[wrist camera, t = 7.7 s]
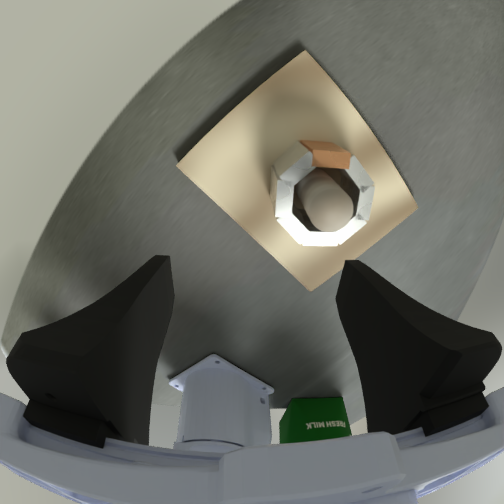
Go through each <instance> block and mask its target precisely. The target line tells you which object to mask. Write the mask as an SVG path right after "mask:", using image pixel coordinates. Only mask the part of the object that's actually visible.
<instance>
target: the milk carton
mask: <svg viewBox="0 0 504 504" xmlns="http://www.w3.org/2000/svg"><path fill="white" fill-rule="evenodd" d="M279 426H280V427H279V429H280V444H286V443H299V442H310V441H319V440H327V439H335V438H342V437H348V436H352V434H351V429H350V425H349V421H348V417H347V413H346V409H345V405H344V401H343V397H335V398H292V400H291V402H290V404H289V406H288V407H287V409H286V411H285V413H284V415H283V417H282V419H281V420H280V422H279Z"/></svg>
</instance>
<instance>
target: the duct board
mask: <svg viewBox="0 0 504 504" xmlns="http://www.w3.org/2000/svg"><path fill="white" fill-rule="evenodd" d="M300 140H310V141H322V142H332V143H334V144H336V145H338V146H339V147H341V148H343V149H345V150H346V151H348V152H350V153H352V154H353V155H354V156H355V157H356V158H357V160H358V161H359V162H360V164H361V165H362V166H363V168H364V169H365V171H366V172H367V173H368V175H369V176H370V178H371V179H372V181H373V182H374V184H373V185H374V186H375V190H374V196H373V202H372V207H371V212H370V217H369V220H365V221H366V222H367V224H366V225H364V226H363V227H362V228H361V229H359V230H358V231H357V232H356V233H354V234H353V235H352V236H351V237H349V238H348V239H347V240H346V241H344V242H343V243H342V244H341V245H340V244H339V243H337V246H303V244H302V243H301V244H299V243H298V242H297V241H296V240H295V239H294V238H293V237H292V236H291V235H290V234H289V233H288V232H287V231H286V230H285V229H284V228H283V227H282V226H281V225H280V223H279V222H278V221H277V220H276V217H275V215H274V211H273V207H272V203H271V199H270V179H271V165H274V164H273V161H275V160H276V159H277V158H278V157H279V156H280V155H281V154H283V153H284V152H285V151H286V150H287V149H288V148H290V147H291V146H292V145H293V144H294V143H295V142H297V141H298V142H299V143H300ZM176 166H177V167H178V168H179V169H180V170H181V171H182V172H183V173H184V174H185V175H186V176H187V177H189V178H190V179H191V180H192V181H193V182H194V183H195V184H196V185H197V186H198V187H199V188H200V189H202V190H203V191H204V192H205V193H206V194H207V195H208V196H209V197H210V198H211V199H212V200H213V201H214V202H216V203H217V204H218V205H219V206H220V207H221V208H222V209H223V210H224V211H225V212H226V213H227V214H228V215H229V216H231V217H232V218H233V219H234V220H235V221H236V222H237V223H238V224H239V225H240V226H241V227H242V228H243V229H244V230H245V231H247V232H248V233H249V234H250V235H251V236H252V237H253V238H254V239H255V240H256V241H257V242H258V243H259V244H260V245H261V246H262V247H264V248H265V249H266V250H267V251H268V252H269V253H270V254H271V255H272V256H273V257H274V258H275V259H276V260H277V261H278V262H279V263H280V264H281V265H283V266H284V267H285V268H286V269H287V270H288V271H289V272H290V273H291V274H292V275H293V276H294V277H295V278H296V279H297V280H298V281H299V282H300V283H301V284H303V285H304V286H305V287H306V288H307V289H308V290H309V291H310V292H311V291H313V290H314V289H315V288H317V287H318V286H320V285H321V284H322V283H324V282H325V281H326V280H328V279H329V278H330V277H332V276H333V275H335V274H336V273H337V272H339V271H340V270H341V269H343V267H344V263H345V260H354V259H356V258H357V257H358V256H360V255H361V254H362V253H363V252H365V251H366V250H367V249H368V248H370V247H371V246H372V245H374V244H375V243H376V242H377V241H379V240H380V239H381V238H382V237H384V236H385V235H386V234H387V233H389V232H390V231H391V230H392V229H393V228H395V227H396V226H397V225H398V224H400V223H401V222H402V221H403V220H404V219H406V218H407V217H408V216H409V215H410V214H411V213H413V212H414V211H415V210H416V209H417V208H418V206H417V204H416V202H415V200H414V198H413V197H412V195H411V193H410V191H409V190H408V188H407V186H406V184H405V183H404V181H403V179H402V177H401V176H400V174H399V172H398V171H397V169H396V168H395V166H394V164H393V163H392V161H391V160H390V158H389V156H388V155H387V153H386V152H385V150H384V149H383V147H382V146H381V144H380V143H379V141H378V140H377V138H376V137H375V135H374V134H373V132H372V131H371V130H370V128H369V127H368V125H367V124H366V123H365V121H364V120H363V119H362V117H361V116H360V114H359V113H358V112H357V110H356V109H355V108H354V107H353V105H352V104H351V103H350V101H349V100H348V99H347V98H346V96H345V95H344V94H343V93H342V91H341V90H340V89H339V88H338V86H337V85H336V84H335V83H334V82H333V80H332V79H331V78H330V77H329V76H328V75H327V73H326V72H325V71H324V70H323V69H322V68H321V67H320V65H319V64H318V63H317V62H316V61H315V60H314V59H313V58H312V57H311V56H310V54H309V53H308V52H307V51H306V50H304V51H303V52H302V53H300V54H299V55H298V56H296V57H295V58H294V59H292V60H291V61H290V62H289V63H287V64H286V65H285V66H283V67H282V68H281V69H280V70H278V71H277V72H276V73H275V74H273V75H272V76H271V77H270V78H269V79H267V80H266V81H265V82H264V83H263V84H261V85H260V86H259V87H258V88H257V89H255V90H254V91H253V92H252V93H251V94H250V95H249V96H247V97H246V98H245V99H244V100H243V101H242V102H241V103H239V104H238V105H237V106H236V107H235V108H234V109H233V110H232V111H231V112H230V113H228V114H227V115H226V116H225V117H224V118H223V119H222V120H221V121H220V122H219V123H218V124H217V125H216V126H215V127H214V128H213V129H211V130H210V131H209V132H208V133H207V134H206V135H205V136H204V137H203V138H202V139H201V140H200V141H199V142H198V143H197V144H196V145H195V146H194V147H193V148H192V149H191V150H190V151H189V152H188V153H187V154H186V155H185V157H184V158H183V159H182V160H181V161H180V162H179V163H178V164H177V165H176ZM340 180H341V172H340V171H339V170H338V168H328V167H316V168H314V169H313V170H312V171H311V172H310V173H308V174H307V175H306V176H305V177H304V178H303V179H301V180H300V181H299V182H298V183H297V184H295V185H294V193H293V203H294V204H295V205H296V207H297V208H298V209H305V210H306V212H307V214H308V216H309V218H310V220H311V222H312V224H313V225H314V226H315V227H316V228H317V229H319V230H321V231H324V232H335V231H338V230H340V229H342V228H343V227H345V226H346V225H347V224H348V223H349V221H350V219H351V217H352V215H353V203H352V200H351V198H350V197H349V196H348V194H347V193H346V192H345V191H344V190H343V189H342V188H341V187H340Z"/></svg>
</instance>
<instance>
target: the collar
mask: <svg viewBox="0 0 504 504" xmlns="http://www.w3.org/2000/svg"><path fill="white" fill-rule="evenodd" d="M273 164H274V165H271V179H270V199H271V203H272V207H273V211H274V215H275V217H276V220H277V221H278V222H279V223H280V225H281V226H282V227H283V228H284V229H285V230H286V231H287V232H288V233H289V234H290V235H291V236H292V237H293V238H294V239H295V240H296V241H297V242H298V243H299V244H301V243H302V244H303V246H337V243H339V244H340V245H341V244H342V243H343V242H344V241H346V240H347V239H348V238H349V237H351V236H352V235H353V234H354V233H356V232H357V231H358V230H359V229H361V228H362V227H363V226H364V225H366V224H367V222H366V221H365V220H369V217H370V212H371V207H372V202H373V196H374V190H375V186H374V185H373V184H374V182H373V181H372V179H371V178H370V176H369V175H368V173H367V172H366V171H365V169H364V168H363V166H362V165H361V164H360V162H359V161H358V160H357V158H356V157H355V156H354V155H353V154H352V153H350V152H348V151H346V150H345V149H343V148H341V147H339V146H338V145H336V144H334V143H332V142H322V141H310V140H300V143H299V142H298V141H297V142H295V143H294V144H293V145H292V146H291V147H290V148H288V149H287V150H286V151H285V152H284V153H283V154H281V155H280V156H279V157H278V158H277V159H276V160H275V161H273ZM316 167H328V168H338V170H339V171H340V172H341V180H340V187H341V188H342V189H343V190H344V191H345V192H346V193H347V194H348V196H349V197H350V198H351V200H352V203H353V215H352V217H351V219H350V221H349V223H348V224H347V225H346V226H345V227H343V228H342V229H340V230H338V231H335V232H324V231H321V230H319V229H317V228H316V227H315V226H314V225H313V224H312V222H311V220H310V218H309V216H308V214H307V212H306V210H305V209H298V208H297V207H296V205H295V204H294V203H293V193H294V185H295V184H297V183H298V182H299V181H300V180H301V179H303V178H304V177H305V176H306V175H307V174H308V173H310V172H311V171H312V170H313V169H314V168H316Z"/></svg>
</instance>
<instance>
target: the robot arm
mask: <svg viewBox="0 0 504 504" xmlns="http://www.w3.org/2000/svg"><path fill="white" fill-rule="evenodd" d="M174 296H175V295H174V288H173V280H172V272H171V263H170V256H164V255H155V256H154V257H152V258H151V259H150V260H149V261H148V262H146V263H145V264H144V265H143V266H142V267H140V268H139V269H138V270H137V271H136V272H135V273H133V274H132V275H131V276H130V277H129V278H127V279H126V280H125V281H124V282H122V283H121V284H120V285H118V286H117V287H116V288H114V289H113V290H112V291H111V292H109V293H108V294H106V295H105V296H103V297H102V298H100V299H99V300H97V301H96V302H94V303H92V304H91V305H89V306H87V307H85V308H83V309H81V310H80V311H78V312H76V313H74V314H72V315H70V316H68V317H66V318H63V319H61V320H59V321H56V322H54V323H51V324H49V325H46V326H43V327H40V328H37V329H34V330H30V331H27V332H24V333H22V334H21V336H20V337H19V339H18V340H17V342H16V344H15V345H14V347H13V349H12V350H11V352H10V354H9V355H8V357H7V359H6V364H7V367H8V370H9V372H10V374H11V375H12V377H13V379H14V380H15V381H16V382H17V384H18V385H19V386H20V388H21V389H22V390H23V391H24V393H25V394H26V395H27V396H28V398H29V399H30V400H29V402H28V405H27V406H26V405H25V404H24V403H22V402H21V401H19V400H16V399H14V398H12V397H9V396H7V395H5V394H3V393H0V463H1V464H2V465H4V466H5V467H7V468H8V469H9V470H11V471H12V472H14V473H15V474H17V475H19V476H21V477H23V478H24V479H26V480H29V481H30V482H33V483H34V484H36V485H39V486H40V487H43V488H45V489H47V490H49V491H51V492H53V493H56V494H58V495H60V496H63V497H65V498H67V499H70V500H72V501H75V502H77V503H80V504H418V502H417V498H420V497H422V496H425V495H427V494H429V493H431V492H434V491H436V490H438V489H440V488H442V487H444V486H446V485H448V484H450V483H452V482H454V481H456V480H458V479H460V478H462V477H464V476H465V475H467V474H469V473H471V472H473V471H474V470H476V469H478V468H480V467H481V466H483V465H485V464H486V463H488V462H489V461H491V460H493V459H494V458H495V457H497V456H498V455H499V454H501V453H502V452H503V451H504V387H502V388H500V389H498V390H496V391H494V392H492V393H490V394H489V395H487V396H486V397H484V395H483V393H482V391H484V390H485V385H484V384H483V382H482V381H483V380H484V379H485V378H486V376H487V375H488V374H489V372H490V371H491V370H492V369H493V367H494V366H495V364H496V363H497V361H498V360H499V358H500V356H501V352H502V346H501V344H500V342H499V341H498V340H497V338H496V337H495V335H494V334H493V333H492V332H488V331H485V330H481V329H477V328H473V327H471V326H468V325H465V324H462V323H460V322H457V321H455V320H452V319H450V318H448V317H446V316H444V315H441V314H439V313H437V312H435V311H433V310H431V309H429V308H428V307H426V306H424V305H423V304H421V303H419V302H417V301H416V300H414V299H413V298H411V297H410V296H408V295H407V294H405V293H404V292H402V291H401V290H399V289H398V288H397V287H395V286H394V285H392V284H391V283H390V282H388V281H387V280H386V279H384V278H383V277H382V276H380V275H379V274H378V273H376V272H375V271H374V270H372V269H371V268H370V267H368V266H367V265H365V264H364V263H362V262H361V261H359V260H345V263H344V267H343V271H342V275H341V279H340V283H339V287H338V291H337V295H336V298H335V299H336V303H337V308H338V312H339V316H340V320H341V322H342V325H343V328H344V331H345V333H346V336H347V338H348V341H349V344H350V346H351V349H352V352H353V355H354V357H355V360H356V364H357V367H358V371H359V376H360V380H361V385H362V390H363V396H364V402H365V410H366V418H367V429H368V433H365V434H360V435H354V436H348V437H342V438H335V439H327V440H319V441H310V442H299V443H286V444H271V438H272V431H271V419H270V406H269V395H270V394H272V393H273V392H274V388H273V387H271V386H269V385H267V384H265V383H264V382H262V381H260V380H258V379H256V378H255V377H253V376H251V375H249V374H248V373H246V372H244V371H243V370H241V369H239V368H238V367H236V366H234V365H232V364H231V363H229V362H228V361H226V360H224V359H223V358H221V357H219V356H218V355H216V354H212V355H210V356H208V357H206V358H205V359H203V360H202V361H200V362H198V363H197V364H195V365H193V366H192V367H190V368H189V369H187V370H185V371H184V372H182V373H180V374H179V375H177V376H175V377H174V378H172V379H170V380H169V385H171V386H173V387H174V388H176V389H178V390H180V391H182V392H183V395H182V402H181V409H180V417H179V425H178V433H177V441H176V442H174V448H173V449H168V448H160V447H154V446H149V424H150V411H151V402H152V393H153V386H154V379H155V372H156V367H157V362H158V358H159V355H160V351H161V348H162V345H163V341H164V338H165V335H166V332H167V328H168V325H169V322H170V318H171V314H172V309H173V303H174Z"/></svg>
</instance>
